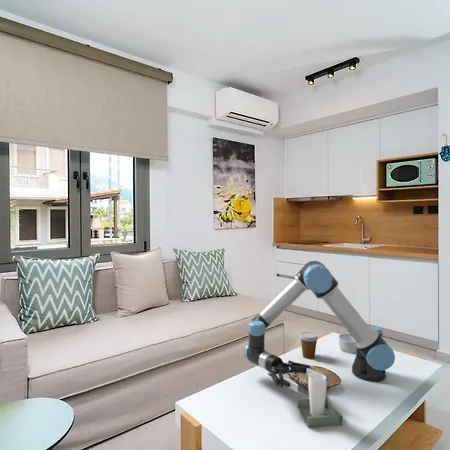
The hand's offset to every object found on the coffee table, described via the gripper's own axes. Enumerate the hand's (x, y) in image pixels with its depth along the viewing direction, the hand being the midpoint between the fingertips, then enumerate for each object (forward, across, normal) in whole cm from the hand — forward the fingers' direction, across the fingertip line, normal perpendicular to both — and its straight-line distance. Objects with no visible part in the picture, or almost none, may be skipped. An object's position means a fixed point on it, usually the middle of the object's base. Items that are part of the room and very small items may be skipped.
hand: (308, 382), depth 132 cm
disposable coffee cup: (-32, -39, -11) cm, 52 cm away
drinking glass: (+4, 0, -11) cm, 12 cm away
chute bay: (+5, 0, -11) cm, 12 cm away
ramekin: (-23, -65, -11) cm, 70 cm away
